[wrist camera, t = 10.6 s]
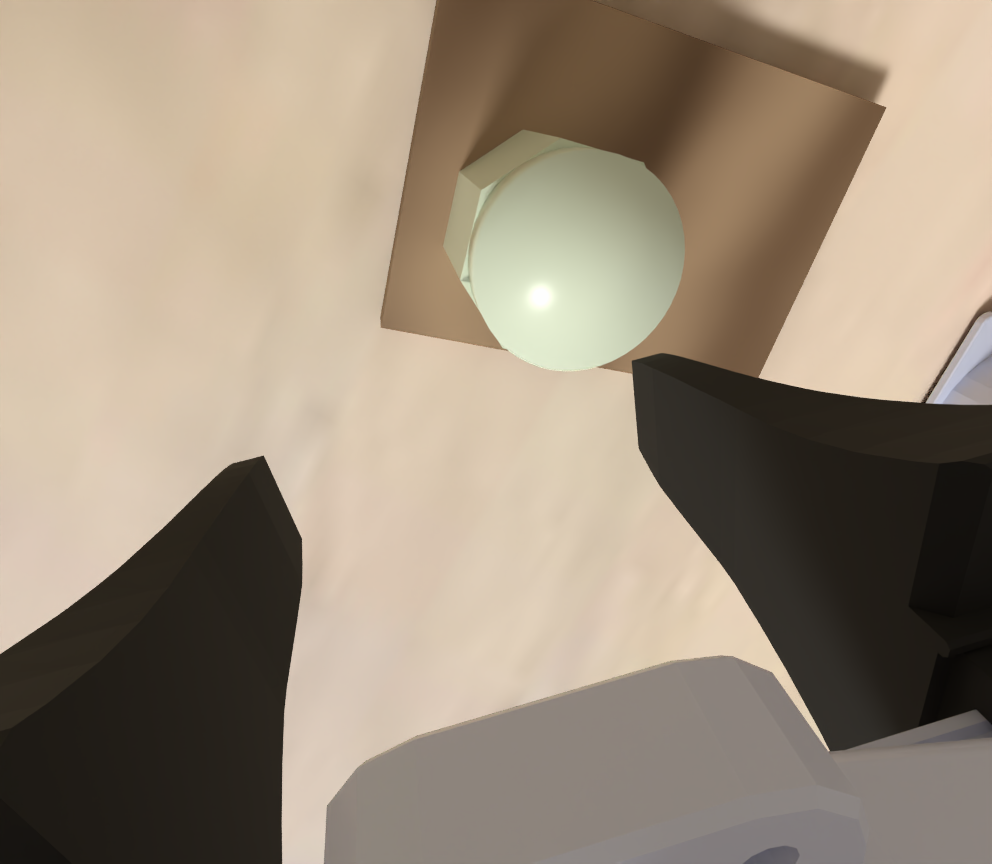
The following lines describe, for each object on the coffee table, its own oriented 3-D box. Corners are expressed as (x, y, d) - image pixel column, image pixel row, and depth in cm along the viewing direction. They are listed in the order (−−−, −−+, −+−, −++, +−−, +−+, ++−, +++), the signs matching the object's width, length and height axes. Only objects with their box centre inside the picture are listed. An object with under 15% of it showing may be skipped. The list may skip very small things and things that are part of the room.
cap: (471, 113, 17) (506, 121, 13) (637, 163, 19) (719, 183, 14) (432, 294, 19) (451, 352, 15) (583, 325, 21) (639, 386, 16)
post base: (863, 107, 20) (967, 109, 16) (736, 384, 24) (797, 432, 21) (444, -44, 16) (465, -82, 13) (380, 317, 20) (383, 363, 17)
